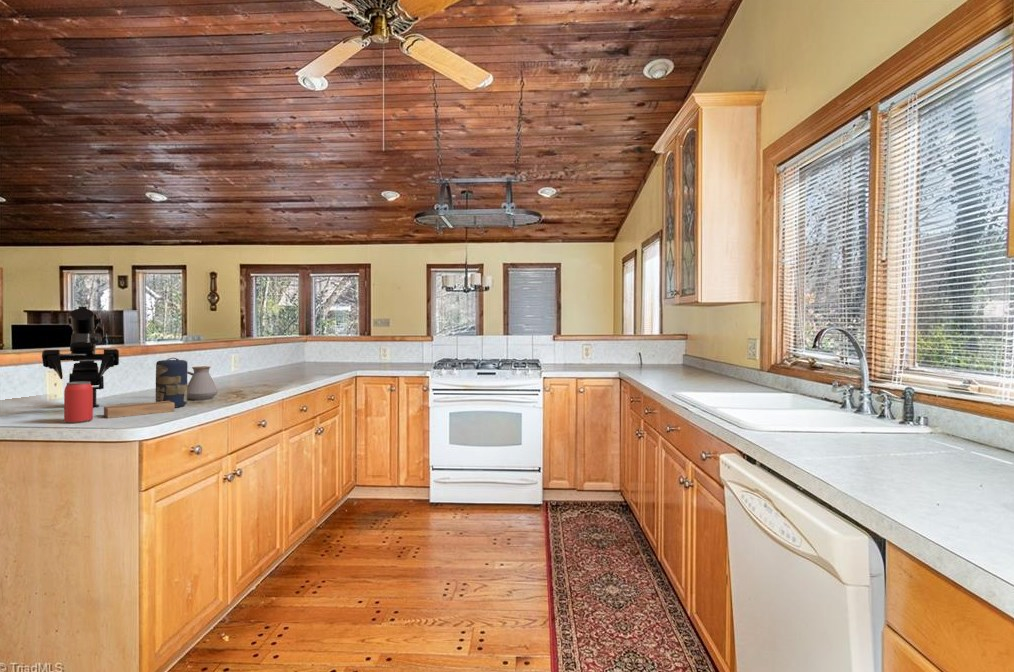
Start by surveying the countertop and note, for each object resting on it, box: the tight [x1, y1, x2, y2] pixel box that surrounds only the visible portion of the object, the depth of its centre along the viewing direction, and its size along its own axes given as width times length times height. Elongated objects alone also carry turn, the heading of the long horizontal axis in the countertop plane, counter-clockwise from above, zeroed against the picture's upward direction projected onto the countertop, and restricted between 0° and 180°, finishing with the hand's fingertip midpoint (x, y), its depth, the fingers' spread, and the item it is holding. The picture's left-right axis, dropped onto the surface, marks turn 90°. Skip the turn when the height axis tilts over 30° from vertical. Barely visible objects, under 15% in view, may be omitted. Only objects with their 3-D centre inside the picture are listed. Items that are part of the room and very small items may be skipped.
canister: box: [155, 357, 188, 408], centre depth 175 cm, size 10×10×18 cm
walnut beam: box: [103, 401, 176, 419], centre depth 162 cm, size 6×18×3 cm, turn 139°
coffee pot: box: [187, 366, 218, 401], centre depth 194 cm, size 21×12×15 cm, turn 98°
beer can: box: [63, 381, 94, 424], centre depth 148 cm, size 7×7×12 cm
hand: (80, 377), depth 153 cm, fingers open, 9 cm apart
